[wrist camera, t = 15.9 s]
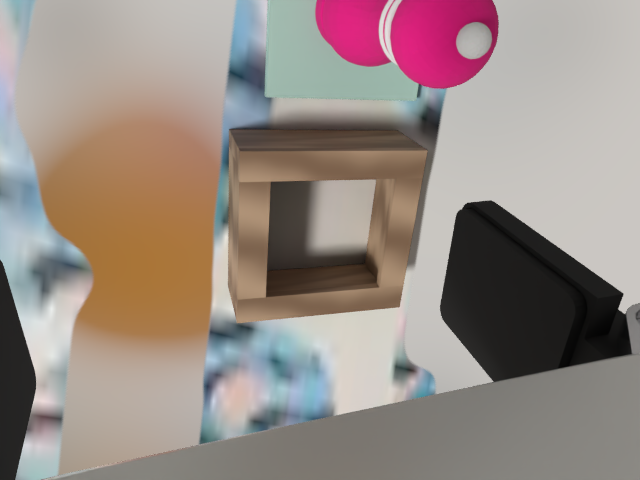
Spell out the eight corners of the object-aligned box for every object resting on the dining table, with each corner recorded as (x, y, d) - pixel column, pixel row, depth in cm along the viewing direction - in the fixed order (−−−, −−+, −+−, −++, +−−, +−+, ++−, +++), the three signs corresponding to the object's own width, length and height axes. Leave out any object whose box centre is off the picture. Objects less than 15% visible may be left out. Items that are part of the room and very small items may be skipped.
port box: (229, 129, 45) (239, 151, 40) (397, 130, 50) (427, 150, 45) (228, 286, 53) (237, 323, 47) (375, 274, 57) (399, 307, 52)
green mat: (271, -97, 39) (273, -98, 38) (440, -75, 43) (444, -76, 42) (264, 95, 45) (266, 97, 44) (412, 98, 49) (416, 100, 48)
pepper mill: (353, -61, 41) (500, -77, 24) (408, 10, 44) (569, 40, 27) (290, 12, 42) (388, 45, 25) (349, 75, 45) (468, 142, 28)
